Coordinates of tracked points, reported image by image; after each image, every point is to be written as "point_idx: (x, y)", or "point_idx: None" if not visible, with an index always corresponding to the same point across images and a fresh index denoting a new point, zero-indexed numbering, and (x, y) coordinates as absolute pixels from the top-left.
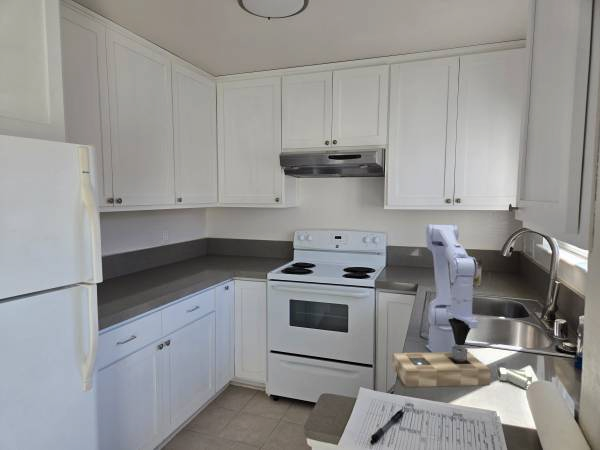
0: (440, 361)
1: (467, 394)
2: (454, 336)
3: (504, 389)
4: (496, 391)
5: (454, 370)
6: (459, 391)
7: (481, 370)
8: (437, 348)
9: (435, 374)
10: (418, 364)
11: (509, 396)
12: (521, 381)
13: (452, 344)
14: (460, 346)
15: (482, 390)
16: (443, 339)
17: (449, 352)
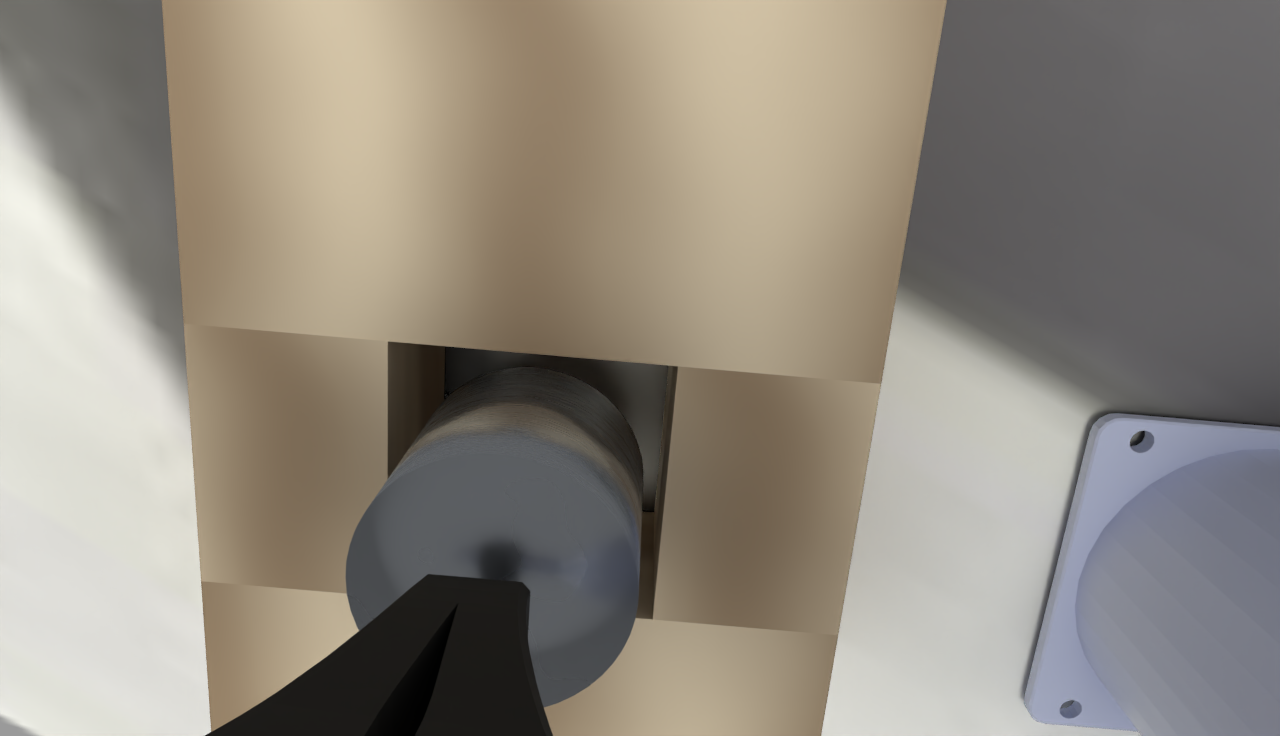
0: (514, 150)
1: (75, 231)
2: (484, 653)
3: (200, 691)
4: (156, 589)
5: (179, 209)
6: (144, 173)
7: (212, 613)
8: (1234, 499)
9: None
10: None
11: (56, 647)
12: None
13: (1155, 733)
14: (602, 668)
15: (174, 459)
16: (1264, 653)
17: (840, 506)
